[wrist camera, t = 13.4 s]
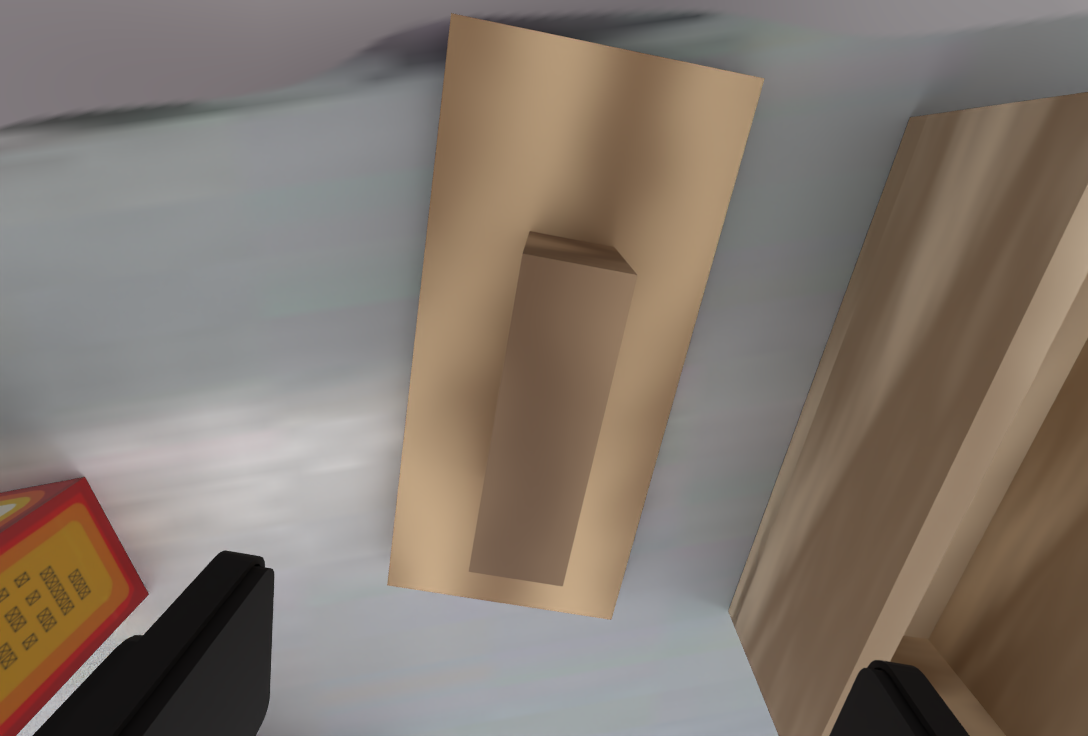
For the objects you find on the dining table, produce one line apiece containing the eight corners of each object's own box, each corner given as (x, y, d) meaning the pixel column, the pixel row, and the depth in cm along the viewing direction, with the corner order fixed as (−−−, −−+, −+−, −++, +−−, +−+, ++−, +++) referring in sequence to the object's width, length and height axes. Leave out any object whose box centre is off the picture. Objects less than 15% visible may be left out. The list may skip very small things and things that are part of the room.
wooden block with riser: (744, 87, 20) (852, 41, 13) (607, 588, 27) (627, 737, 20) (460, 28, 19) (409, -54, 12) (398, 555, 26) (344, 696, 19)
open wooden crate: (1174, 172, 20) (1548, 173, 13) (926, 641, 27) (1069, 821, 20) (910, 117, 20) (1135, 84, 12) (728, 611, 27) (798, 783, 19)
